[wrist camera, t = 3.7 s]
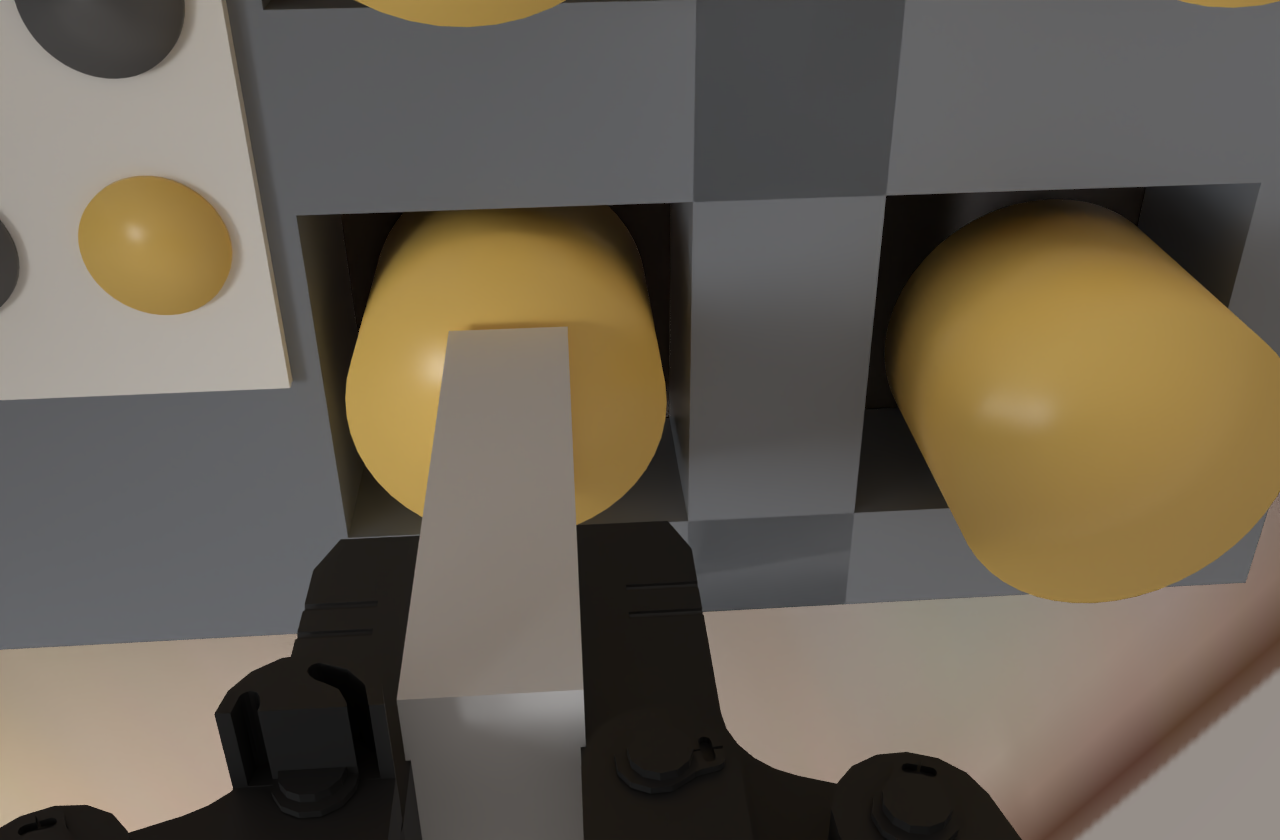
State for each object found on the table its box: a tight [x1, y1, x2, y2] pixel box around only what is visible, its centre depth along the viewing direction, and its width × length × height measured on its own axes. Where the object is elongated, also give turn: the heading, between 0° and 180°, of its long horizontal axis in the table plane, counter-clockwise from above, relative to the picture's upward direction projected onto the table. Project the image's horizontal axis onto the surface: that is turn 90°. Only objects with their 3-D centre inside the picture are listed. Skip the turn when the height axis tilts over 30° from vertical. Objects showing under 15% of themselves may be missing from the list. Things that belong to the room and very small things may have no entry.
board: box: [0, 0, 1280, 650], centre depth 16 cm, size 20×16×3 cm
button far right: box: [884, 199, 1280, 603], centre depth 16 cm, size 4×4×4 cm
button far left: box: [345, 205, 667, 525], centre depth 18 cm, size 4×4×4 cm
